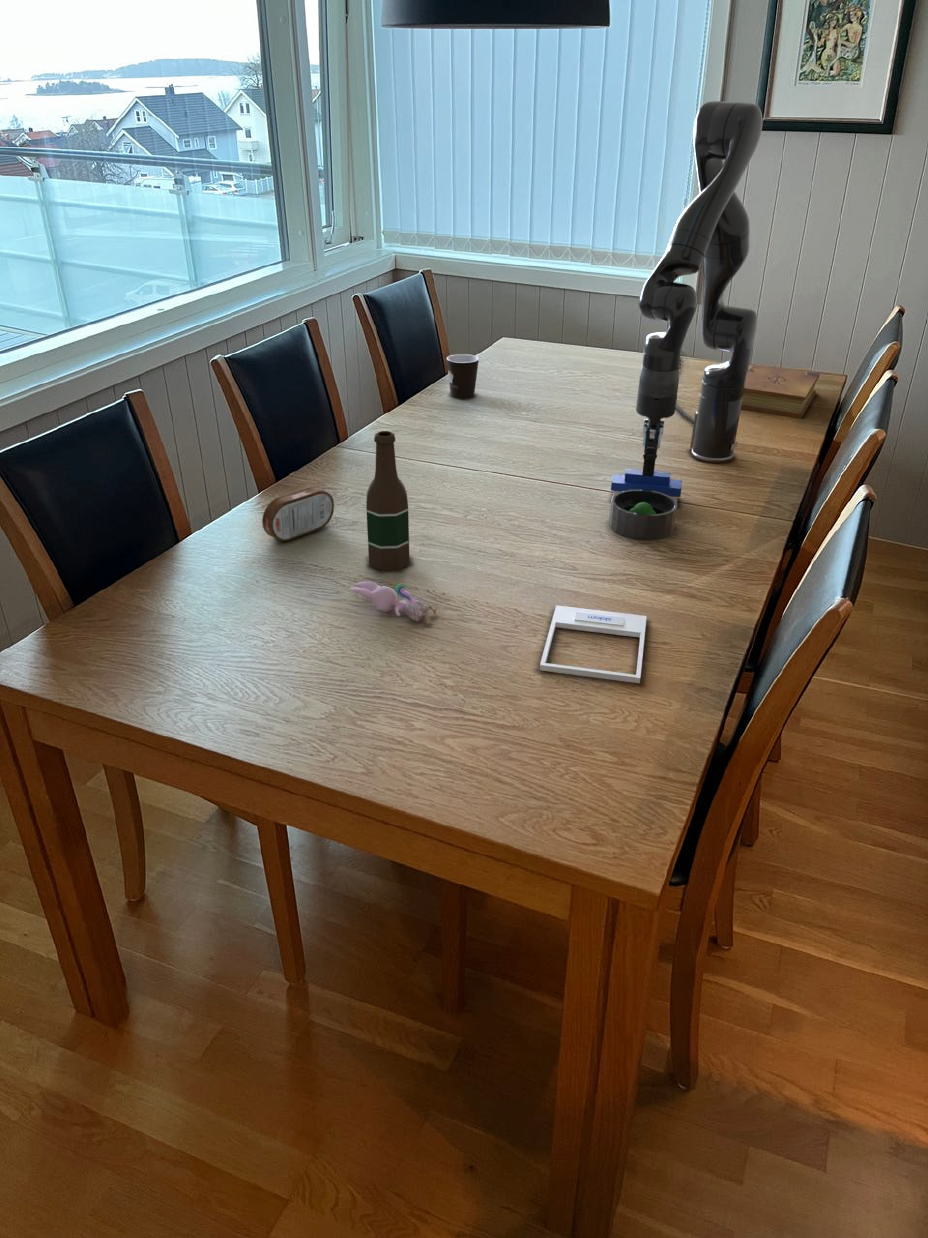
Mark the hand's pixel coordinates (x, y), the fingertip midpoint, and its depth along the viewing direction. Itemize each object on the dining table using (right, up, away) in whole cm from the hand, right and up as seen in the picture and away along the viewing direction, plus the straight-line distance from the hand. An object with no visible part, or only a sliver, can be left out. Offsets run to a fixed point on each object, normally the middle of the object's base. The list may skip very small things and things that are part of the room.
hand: (648, 467), depth 186 cm
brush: (0, -6, +3) cm, 7 cm away
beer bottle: (-51, -21, -21) cm, 59 cm away
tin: (-68, -15, -12) cm, 71 cm away
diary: (+46, +28, +62) cm, 82 cm away
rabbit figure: (-49, -30, -36) cm, 68 cm away
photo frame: (-17, -35, -45) cm, 59 cm away
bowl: (-3, -13, -8) cm, 16 cm away
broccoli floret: (-3, -13, -9) cm, 16 cm away
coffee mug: (-38, +31, +65) cm, 81 cm away
